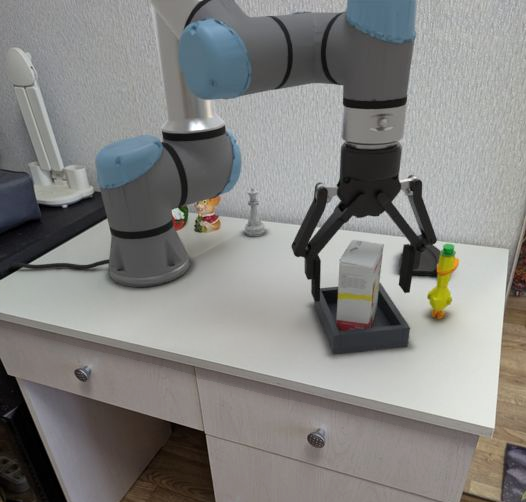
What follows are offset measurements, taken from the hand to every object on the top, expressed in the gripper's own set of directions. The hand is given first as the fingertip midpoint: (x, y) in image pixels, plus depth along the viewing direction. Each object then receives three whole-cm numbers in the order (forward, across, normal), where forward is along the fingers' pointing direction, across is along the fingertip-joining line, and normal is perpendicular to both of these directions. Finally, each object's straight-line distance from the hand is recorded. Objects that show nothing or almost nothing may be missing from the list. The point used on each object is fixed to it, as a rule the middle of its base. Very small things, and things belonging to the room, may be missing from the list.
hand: (360, 293), depth 73 cm
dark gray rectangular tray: (+6, 0, 0) cm, 6 cm away
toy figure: (+6, +13, +1) cm, 15 cm away
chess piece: (+6, -12, +41) cm, 43 cm away
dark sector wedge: (+6, +18, +19) cm, 27 cm away
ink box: (+5, 0, -1) cm, 5 cm away
